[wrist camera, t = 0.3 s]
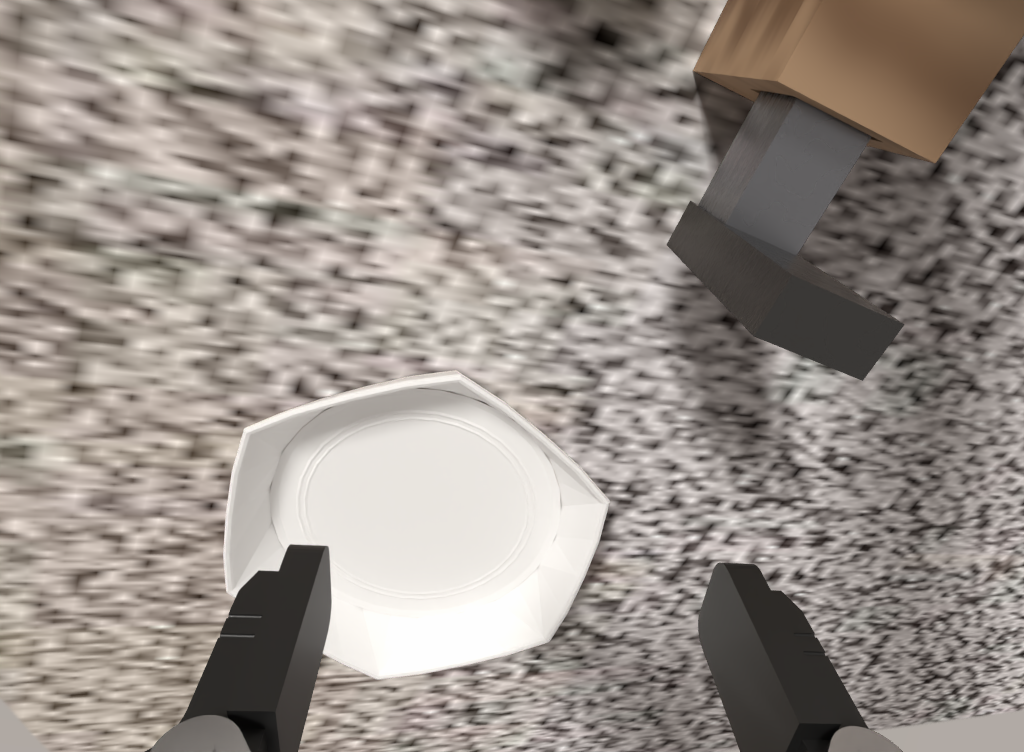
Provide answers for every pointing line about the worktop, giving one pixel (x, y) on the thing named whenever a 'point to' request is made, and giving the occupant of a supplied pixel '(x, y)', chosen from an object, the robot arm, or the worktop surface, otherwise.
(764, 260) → the grey l-shaped block
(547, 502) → the pan
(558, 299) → the worktop surface
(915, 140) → the block
